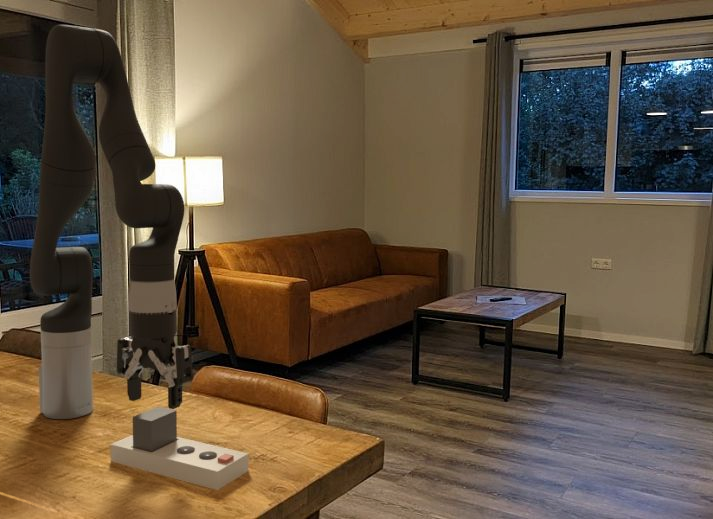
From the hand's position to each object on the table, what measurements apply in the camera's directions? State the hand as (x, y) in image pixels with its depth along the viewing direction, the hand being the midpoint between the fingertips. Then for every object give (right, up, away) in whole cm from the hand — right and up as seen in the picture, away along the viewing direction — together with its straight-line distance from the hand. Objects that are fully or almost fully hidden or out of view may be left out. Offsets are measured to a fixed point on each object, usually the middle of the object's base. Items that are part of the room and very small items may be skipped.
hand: (154, 403), depth 115 cm
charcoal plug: (0, -10, +1) cm, 10 cm away
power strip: (+4, -10, -1) cm, 11 cm away
